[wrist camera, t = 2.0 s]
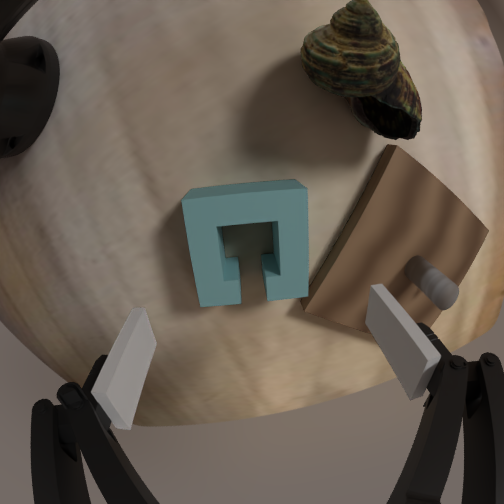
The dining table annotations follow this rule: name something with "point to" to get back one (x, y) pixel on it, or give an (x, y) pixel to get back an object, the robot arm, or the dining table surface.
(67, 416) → the robot arm
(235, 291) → the teal slotted block
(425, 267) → the post block
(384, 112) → the seashell
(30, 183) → the dining table surface
